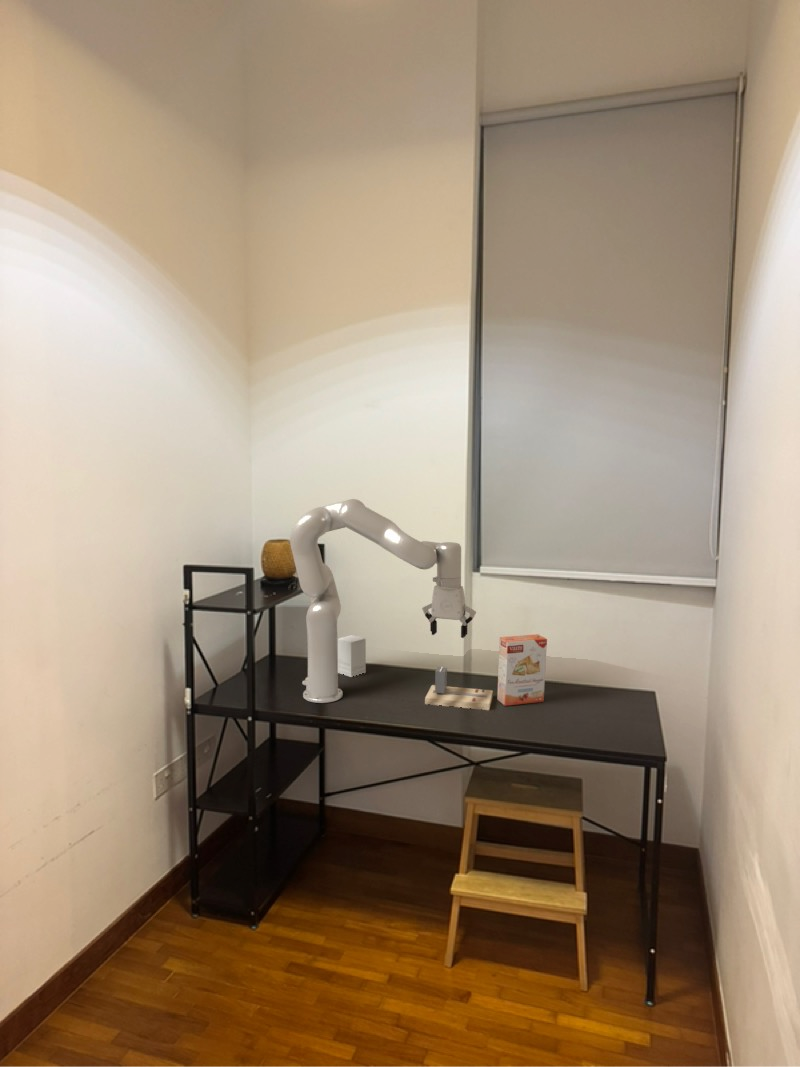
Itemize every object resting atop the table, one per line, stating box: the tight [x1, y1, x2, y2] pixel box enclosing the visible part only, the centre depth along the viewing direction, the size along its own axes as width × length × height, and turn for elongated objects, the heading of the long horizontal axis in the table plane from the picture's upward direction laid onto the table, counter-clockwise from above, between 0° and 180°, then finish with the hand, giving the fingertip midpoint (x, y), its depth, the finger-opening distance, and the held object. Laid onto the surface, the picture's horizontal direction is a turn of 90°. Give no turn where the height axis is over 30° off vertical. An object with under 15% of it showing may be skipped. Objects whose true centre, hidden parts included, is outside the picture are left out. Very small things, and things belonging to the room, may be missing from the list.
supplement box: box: [338, 634, 367, 678], centre depth 243 cm, size 7×7×13 cm
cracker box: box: [496, 633, 548, 707], centre depth 217 cm, size 14×6×21 cm, turn 109°
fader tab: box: [434, 666, 448, 693], centre depth 219 cm, size 3×4×7 cm, turn 167°
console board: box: [424, 684, 494, 711], centre depth 219 cm, size 20×12×2 cm, turn 77°
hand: (448, 635), depth 217 cm, fingers open, 9 cm apart
